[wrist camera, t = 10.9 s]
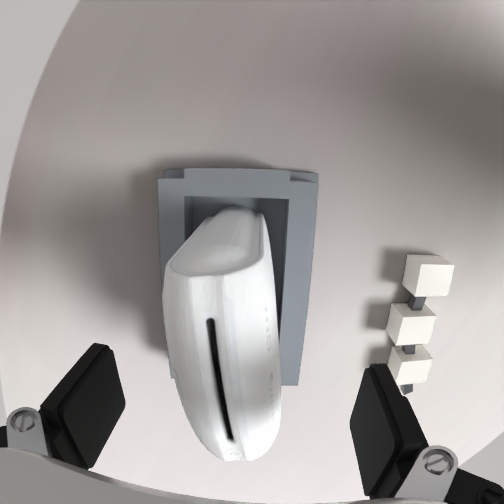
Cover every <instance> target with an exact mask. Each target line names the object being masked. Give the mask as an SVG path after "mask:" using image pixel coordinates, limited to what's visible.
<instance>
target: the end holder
mask: <svg viewBox="0 0 504 504" xmlns="http://www.w3.org/2000/svg"><path fill="white" fill-rule="evenodd" d="M317 192H318V173H306V172H290V171H289V170H275V169H248V168H185V169H165V170H164V178H161V179H158V220H159V248H160V267H161V283H162V294H163V288H164V276H165V267H166V264H167V263H168V261H169V260H170V259H171V258H172V257H173V255H174V254H175V253H176V252H177V251H178V250H179V248H180V247H181V246H182V245H183V244H184V243H185V242H186V240H187V239H188V238H189V237H190V236H191V235H192V234H193V233H194V231H195V230H196V229H197V228H198V227H199V226H200V224H201V223H202V222H203V221H204V220H205V219H206V218H207V217H213V216H214V215H215V214H217V213H218V212H219V211H221V210H222V209H224V208H227V207H231V206H242V207H246V208H249V209H251V210H253V211H254V212H255V213H262V214H263V216H264V219H265V222H266V226H267V230H268V236H269V242H270V249H271V257H272V265H273V274H274V283H275V295H276V310H277V325H278V338H279V353H280V373H281V385H287V386H298V380H299V373H300V366H301V358H302V351H303V343H304V335H305V327H306V318H307V309H308V300H309V291H310V281H311V270H312V259H313V248H314V236H315V222H316V208H317ZM167 349H168V346H167ZM168 358H169V366H170V374H171V378H174V375H173V371H172V366H171V362H170V357H169V351H168Z"/></svg>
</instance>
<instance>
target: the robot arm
mask: <svg viewBox="0 0 504 504" xmlns="http://www.w3.org/2000/svg"><path fill="white" fill-rule="evenodd" d="M40 407H41V408H40V410H39V411H37V410H35V409H33V408H29V407H22V408H19V409H16V410H15V411H13V412H12V413H11V414H10V415H9V416H8V418H7V423H6V424H7V425H6V426H2V427H0V504H265V503H247V502H235V501H224V500H216V499H208V498H201V497H194V496H188V495H182V494H176V493H171V492H166V491H161V490H157V489H152V488H148V487H143V486H139V485H135V484H132V483H128V482H124V481H121V480H117V479H114V478H110V477H107V476H104V475H101V474H98V473H94V472H91V471H88V469H89V468H92V467H93V466H94V464H95V463H96V461H97V459H98V457H99V455H100V453H101V451H102V449H103V447H104V446H105V444H106V442H107V440H108V438H109V436H110V434H111V432H112V431H113V429H114V427H115V425H116V423H117V421H118V420H119V418H120V416H121V414H122V412H123V410H124V408H125V398H124V394H123V390H122V386H121V382H120V378H119V374H118V370H117V366H116V361H115V357H114V353H113V351H112V350H111V349H110V348H109V346H108V345H104V344H98V343H94V344H92V345H91V346H90V348H89V349H88V350H87V351H86V352H85V353H84V354H83V356H82V357H81V358H80V359H79V360H78V361H77V363H76V364H75V365H74V366H73V367H72V368H71V370H70V371H69V372H68V373H67V374H66V375H65V377H64V378H63V379H62V380H61V381H60V382H59V384H58V385H57V386H56V387H55V388H54V390H53V391H52V392H51V393H50V394H49V396H48V397H47V398H46V399H45V401H44V402H43V403H42V404H41V405H40ZM350 430H351V434H352V438H353V443H354V447H355V452H356V456H357V461H358V465H359V470H360V475H361V480H362V484H363V489H364V494H365V496H369V497H370V500H361V501H351V502H337V503H317V504H504V489H503V488H502V487H501V486H500V485H498V484H496V483H494V482H491V481H489V480H486V479H484V478H481V477H478V476H476V475H473V474H471V473H468V472H466V471H464V470H461V469H459V468H457V467H458V459H457V457H456V455H455V453H454V452H452V451H451V450H450V449H448V448H446V447H443V446H430V447H429V445H428V443H427V440H426V438H425V436H424V433H423V431H422V429H421V427H420V425H419V422H418V420H417V418H416V416H415V414H414V411H413V409H412V407H411V405H410V403H409V401H408V399H407V398H406V397H405V396H402V395H401V393H400V390H399V388H398V386H397V384H396V382H395V380H394V378H393V376H392V374H391V371H390V369H389V367H388V365H387V364H371V365H370V367H369V368H366V369H365V371H364V374H363V378H362V381H361V385H360V388H359V392H358V395H357V399H356V402H355V405H354V408H353V412H352V415H351V418H350Z"/></svg>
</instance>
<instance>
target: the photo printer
mask: <svg viewBox="0 0 504 504" xmlns="http://www.w3.org/2000/svg"><path fill="white" fill-rule="evenodd" d="M162 302H163V316H164V325H165V332H166V340H167V346H168V351H169V357H170V362H171V366H172V371H173V375H174V379H175V383H176V387H177V390H178V394H179V397H180V400H181V403H182V406H183V408H184V411H185V414H186V416H187V418H188V420H189V422H190V424H191V426H192V428H193V430H194V432H195V434H196V435H197V437H198V439H199V440H200V442H201V443H202V444H203V445H204V446H205V447H206V449H207V450H208V451H210V452H211V453H212V454H213V455H214V456H216V457H217V458H219V459H221V460H223V461H227V462H228V461H232V460H245V461H251V460H254V459H256V458H258V457H260V456H261V455H263V454H264V453H265V452H266V451H267V450H268V449H269V448H270V447H271V446H272V444H273V442H274V440H275V438H276V435H277V433H278V430H279V426H280V418H281V373H280V353H279V338H278V325H277V310H276V295H275V283H274V274H273V265H272V257H271V249H270V242H269V236H268V230H267V226H266V222H265V219H264V216H263V214H262V213H255V212H254V211H253V210H251V209H249V208H246V207H242V206H231V207H227V208H224V209H222V210H221V211H219V212H218V213H217V214H215V215H214V216H213V217H207V218H206V219H205V220H204V221H203V222H202V223H201V224H200V226H199V227H198V228H197V229H196V230H195V231H194V233H193V234H192V235H191V236H190V237H189V238H188V239H187V240H186V242H185V243H184V244H183V245H182V246H181V247H180V248H179V250H178V251H177V252H176V253H175V254H174V255H173V257H172V258H171V259H170V260H169V261H168V263H167V264H166V267H165V276H164V288H163V294H162Z"/></svg>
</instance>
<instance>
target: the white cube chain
mask: <svg viewBox="0 0 504 504" xmlns="http://www.w3.org/2000/svg"><path fill="white" fill-rule="evenodd" d="M453 270H454V265H453V264H452V263H450V262H449V261H447V260H445V259H444V258H442V257H440V256H435V255H413V254H407V259H406V265H405V271H404V277H403V282H402V285H403V286H404V287H405V288H406V289H407V290H408V291H410V292H411V293H412V294H411V296H410V299H409V302H408V303H392V304H391V309H390V314H389V318H388V323H387V327H386V331H387V333H388V334H389V336H390V337H391V339H392V340H393V342H394V343H395V345H396V346H392V349H391V353H390V356H389V360H388V363H387V365H388V367H389V369H390V371H391V374H392V376H393V378H394V380H395V382H396V384H397V385H400V386H401V390H402V392H403V394H404V395H405V394H407V393H410V392H412V391H413V384H414V383H422V382H425V380H426V378H427V375H428V372H429V369H430V367H431V364H432V361H433V358H432V357H431V356H430V354H429V353H428V352H427V350H426V349H425V348H424V346H423V345H422V344H426V343H429V341H430V337H431V334H432V330H433V327H434V323H435V320H436V315H435V314H434V313H433V312H432V311H431V310H430V309H429V308H428V307H427V306H426V305H425V304H424V302H425V300H426V297H427V296H448V293H449V288H450V284H451V279H452V275H453ZM415 344H420V345H415ZM399 345H402V346H399Z"/></svg>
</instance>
